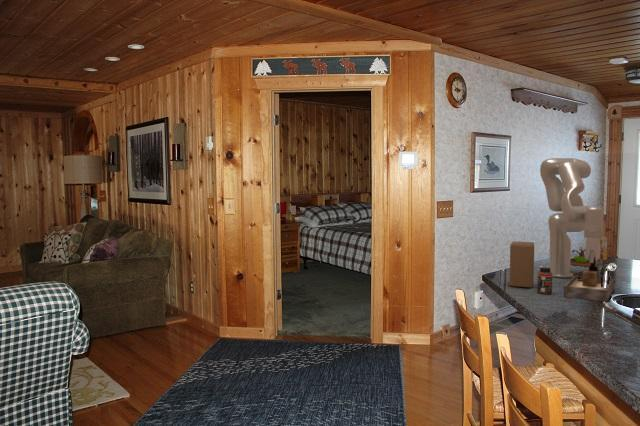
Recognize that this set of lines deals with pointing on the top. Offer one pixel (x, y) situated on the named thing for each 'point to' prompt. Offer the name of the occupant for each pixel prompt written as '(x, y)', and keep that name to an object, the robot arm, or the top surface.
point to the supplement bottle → (544, 281)
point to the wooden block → (522, 264)
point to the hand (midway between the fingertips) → (593, 275)
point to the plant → (580, 259)
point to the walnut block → (590, 278)
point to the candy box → (603, 248)
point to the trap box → (587, 290)
